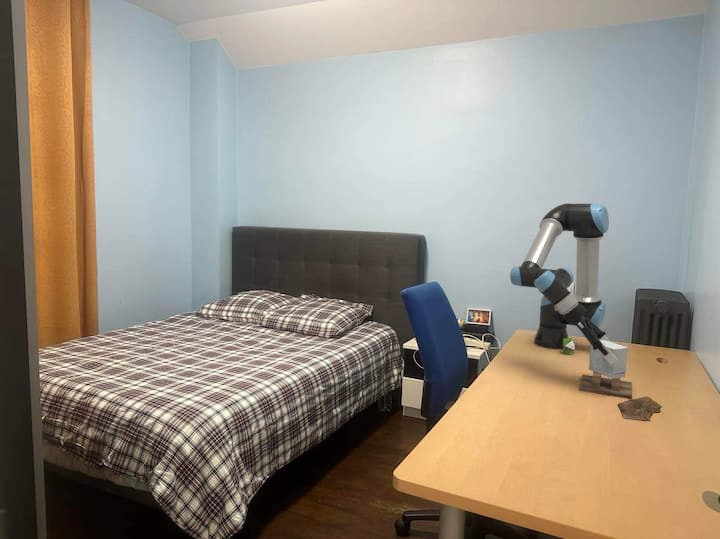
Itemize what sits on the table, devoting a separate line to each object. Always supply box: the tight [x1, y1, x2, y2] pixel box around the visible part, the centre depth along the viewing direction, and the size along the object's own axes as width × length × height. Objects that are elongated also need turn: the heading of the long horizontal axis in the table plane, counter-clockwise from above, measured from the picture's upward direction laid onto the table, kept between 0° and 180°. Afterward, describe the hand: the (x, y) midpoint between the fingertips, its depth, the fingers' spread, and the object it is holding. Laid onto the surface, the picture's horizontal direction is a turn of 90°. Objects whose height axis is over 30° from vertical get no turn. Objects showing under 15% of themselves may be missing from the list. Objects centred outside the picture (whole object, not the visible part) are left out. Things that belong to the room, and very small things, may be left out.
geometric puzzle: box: [559, 337, 579, 355], centre depth 218 cm, size 7×7×8 cm
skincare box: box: [588, 340, 629, 379], centre depth 175 cm, size 10×6×10 cm, turn 21°
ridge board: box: [578, 371, 633, 400], centre depth 176 cm, size 16×16×5 cm
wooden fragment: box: [617, 395, 663, 422], centre depth 158 cm, size 26×11×1 cm, turn 135°
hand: (614, 357), depth 174 cm, fingers open, 13 cm apart
